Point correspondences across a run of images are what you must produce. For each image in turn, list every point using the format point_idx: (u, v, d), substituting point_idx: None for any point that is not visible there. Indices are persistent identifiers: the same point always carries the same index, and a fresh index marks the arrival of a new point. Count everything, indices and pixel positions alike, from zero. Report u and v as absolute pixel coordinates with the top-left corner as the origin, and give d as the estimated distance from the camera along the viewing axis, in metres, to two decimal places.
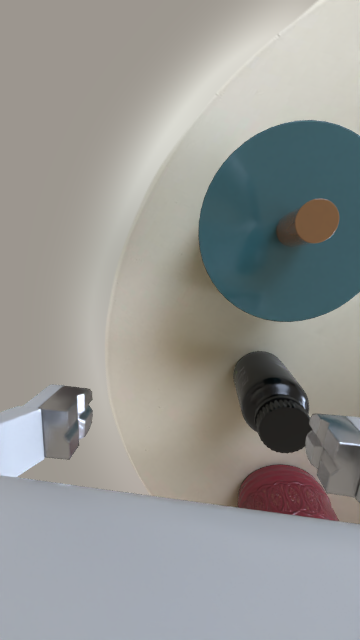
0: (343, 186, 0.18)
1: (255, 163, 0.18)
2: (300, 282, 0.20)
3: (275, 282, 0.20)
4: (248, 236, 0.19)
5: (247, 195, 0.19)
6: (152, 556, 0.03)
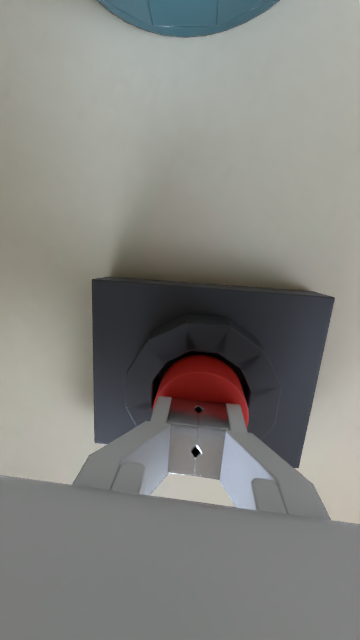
0: None
1: None
2: None
3: None
4: None
5: None
6: (152, 556, 0.03)
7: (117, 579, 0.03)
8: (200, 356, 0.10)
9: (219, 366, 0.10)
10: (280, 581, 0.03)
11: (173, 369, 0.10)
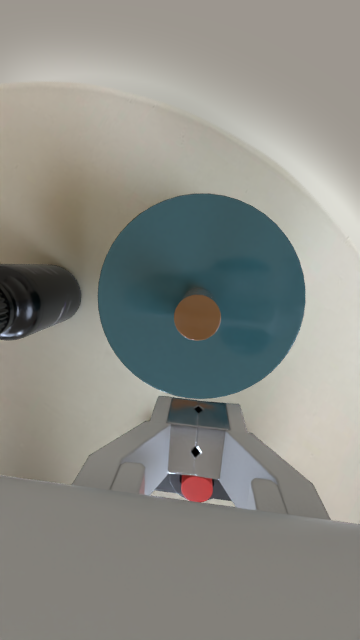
0: (237, 350, 0.18)
1: (269, 260, 0.16)
2: (142, 316, 0.18)
3: (141, 290, 0.18)
4: (192, 256, 0.17)
5: (237, 253, 0.16)
6: (152, 556, 0.03)
7: (117, 579, 0.03)
8: None
9: None
10: (280, 581, 0.03)
11: None
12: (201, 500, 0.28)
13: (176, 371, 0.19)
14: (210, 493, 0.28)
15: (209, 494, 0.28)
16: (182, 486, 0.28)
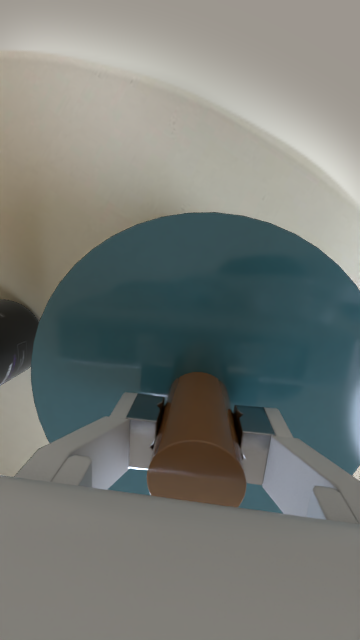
0: None
1: (325, 328, 0.09)
2: (105, 415, 0.11)
3: (102, 374, 0.10)
4: (187, 320, 0.10)
5: (266, 315, 0.09)
6: (152, 556, 0.03)
7: (117, 579, 0.03)
8: None
9: None
10: (280, 581, 0.03)
11: None
12: None
13: None
14: None
15: None
16: None
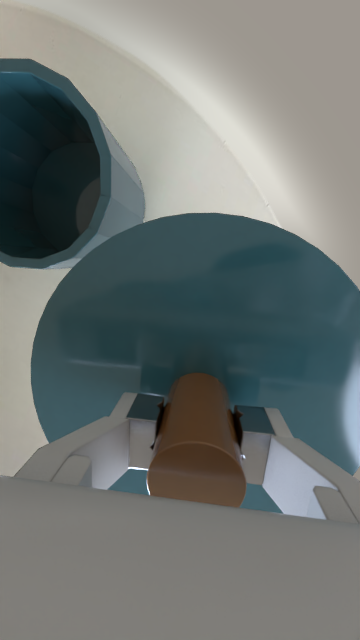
0: None
1: (325, 329, 0.09)
2: (105, 415, 0.11)
3: (102, 375, 0.10)
4: (187, 321, 0.10)
5: (266, 316, 0.09)
6: (152, 556, 0.03)
7: (117, 579, 0.03)
8: None
9: None
10: (280, 581, 0.03)
11: None
12: None
13: None
14: None
15: None
16: None
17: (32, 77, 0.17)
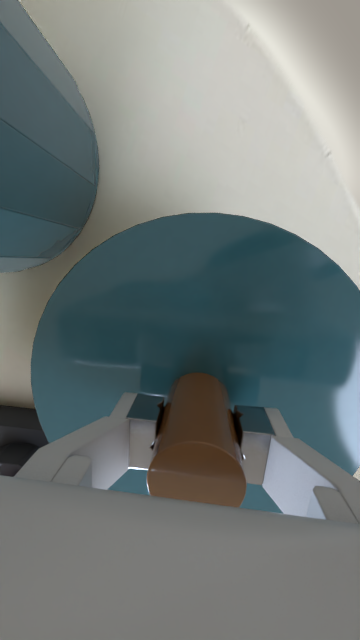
0: None
1: (325, 329, 0.09)
2: (105, 415, 0.11)
3: (102, 375, 0.10)
4: (187, 321, 0.10)
5: (266, 316, 0.09)
6: (152, 556, 0.03)
7: (117, 579, 0.03)
8: None
9: None
10: (280, 581, 0.03)
11: None
12: None
13: None
14: None
15: None
16: None
17: None
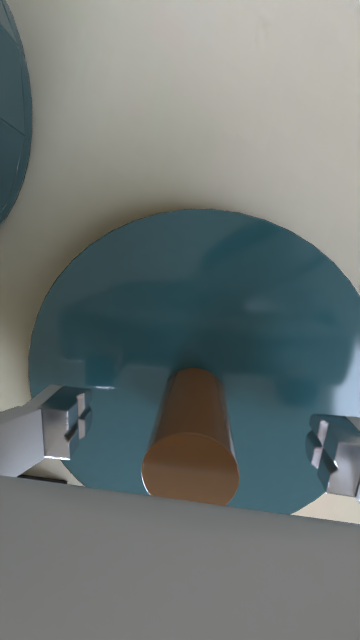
0: (260, 466, 0.11)
1: (320, 325, 0.09)
2: (102, 410, 0.11)
3: (99, 370, 0.10)
4: (183, 317, 0.10)
5: (262, 312, 0.09)
6: (152, 556, 0.03)
7: (117, 579, 0.03)
8: None
9: None
10: (280, 581, 0.03)
11: None
12: None
13: None
14: None
15: None
16: None
17: None
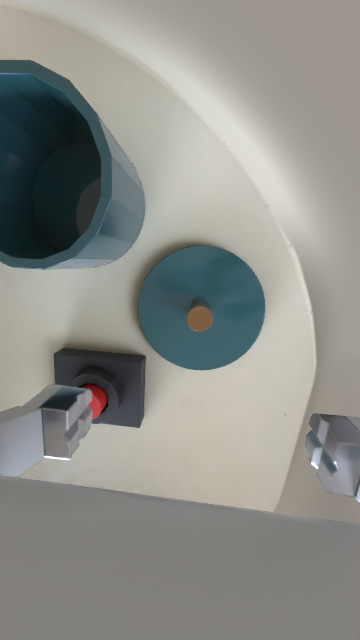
0: (224, 339, 0.29)
1: (242, 284, 0.27)
2: (165, 318, 0.29)
3: (165, 302, 0.29)
4: (196, 281, 0.28)
5: (223, 279, 0.27)
6: (152, 556, 0.03)
7: (117, 579, 0.03)
8: (90, 385, 0.29)
9: (94, 389, 0.28)
10: (280, 581, 0.03)
11: None
12: None
13: (187, 352, 0.30)
14: (99, 409, 0.28)
15: (98, 410, 0.28)
16: None
17: (33, 78, 0.17)
